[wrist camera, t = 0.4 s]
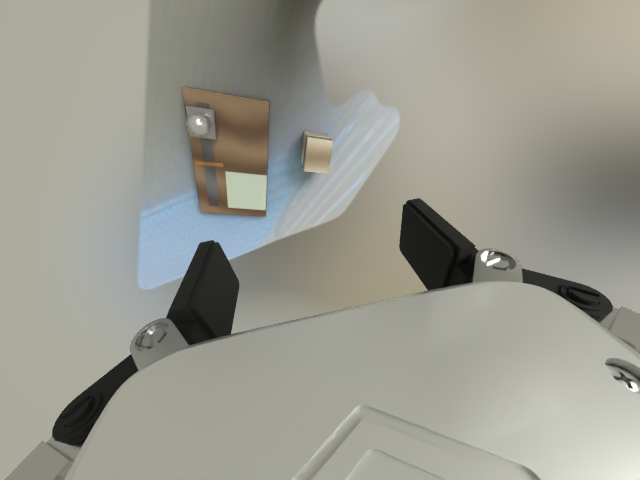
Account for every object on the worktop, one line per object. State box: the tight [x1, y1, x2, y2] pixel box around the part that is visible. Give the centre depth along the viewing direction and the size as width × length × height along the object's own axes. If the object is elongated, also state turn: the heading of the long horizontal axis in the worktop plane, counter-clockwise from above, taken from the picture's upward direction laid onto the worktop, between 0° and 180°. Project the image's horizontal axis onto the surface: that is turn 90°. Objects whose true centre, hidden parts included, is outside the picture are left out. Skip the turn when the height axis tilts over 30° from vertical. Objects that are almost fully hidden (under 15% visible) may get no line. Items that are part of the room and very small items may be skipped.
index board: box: [182, 87, 269, 216], centre depth 39 cm, size 20×12×2 cm, turn 170°
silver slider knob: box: [186, 105, 218, 140], centre depth 33 cm, size 4×4×4 cm
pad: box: [225, 171, 267, 210], centre depth 42 cm, size 7×7×1 cm
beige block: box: [301, 131, 334, 174], centre depth 38 cm, size 5×4×6 cm
